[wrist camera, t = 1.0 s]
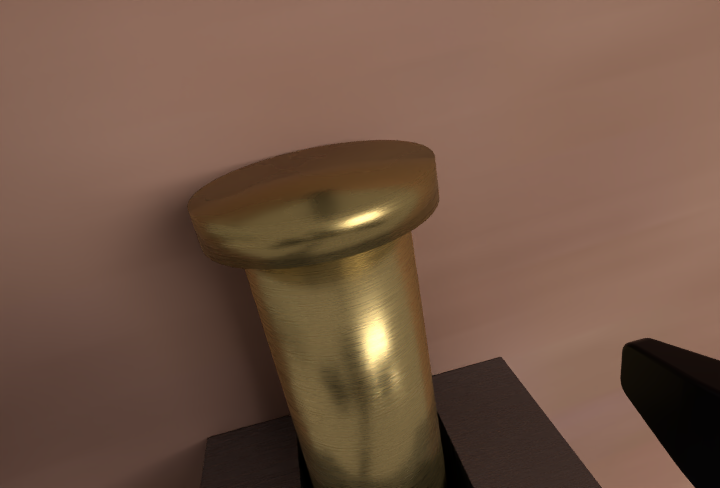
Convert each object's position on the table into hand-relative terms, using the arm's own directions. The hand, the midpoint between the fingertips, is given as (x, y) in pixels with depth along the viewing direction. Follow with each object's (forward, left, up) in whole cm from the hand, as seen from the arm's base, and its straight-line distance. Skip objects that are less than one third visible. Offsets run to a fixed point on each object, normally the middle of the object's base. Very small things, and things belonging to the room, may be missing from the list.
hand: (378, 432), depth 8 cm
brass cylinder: (-5, 0, -8) cm, 10 cm away
